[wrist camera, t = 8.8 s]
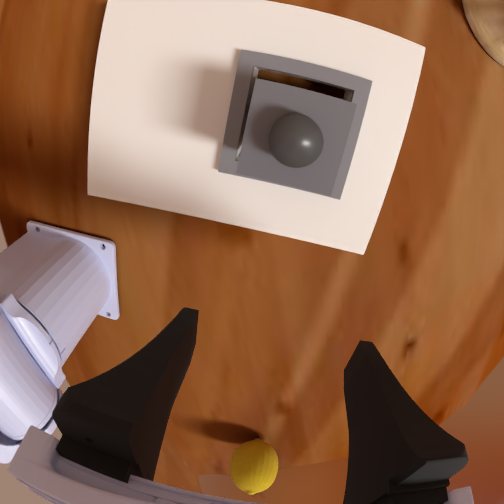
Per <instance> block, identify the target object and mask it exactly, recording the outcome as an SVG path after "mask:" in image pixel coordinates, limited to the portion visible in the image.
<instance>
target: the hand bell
mask: <svg viewBox="0 0 504 504" xmlns="http://www.w3.org/2000/svg"><path fill="white" fill-rule="evenodd" d="M462 3H463V8H464V12H465V16H466V18H467V21H468V23H469V25H470V27H471V29H472V31H473V33H474V35H475V37H476V38H477V40H478V41H479V43H480V44H481V46H482V47H483V48H484V49H485V51H486V52H487V53H488V54H489V55H490V56H491V57H492V58H493V59H494V60H495V61H496V62H498V63H499V64H500V65H502V66H503V67H504V0H462Z"/></svg>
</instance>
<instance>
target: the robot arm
mask: <svg viewBox="0 0 504 504" xmlns="http://www.w3.org/2000/svg"><path fill="white" fill-rule="evenodd" d="M38 227H39V228H38ZM39 229H40V230H39ZM102 244H104V245H105V247H104V246H103V245H102ZM108 312H109V313H108ZM198 312H199V310H194V309H190V308H186V307H185V308H183V309H182V310H181V311H180V312H179V313H178V315H177V316H176V317H175V318H174V319H173V320H172V321H171V322H170V323H169V324H168V325H167V326H166V327H165V328H164V329H163V330H162V331H161V332H160V333H159V334H158V335H157V336H156V337H155V338H154V339H153V340H152V341H150V342H149V343H148V344H147V345H146V346H144V347H143V348H142V349H141V350H139V351H138V352H137V353H136V354H134V355H133V356H131V357H130V358H128V359H127V360H125V361H124V362H122V363H121V364H119V365H117V366H116V367H114V368H112V369H111V370H109V371H107V372H105V373H103V374H101V375H99V376H96V377H94V378H92V379H90V380H88V381H85V382H82V383H80V384H77V385H74V386H71V387H68V389H67V390H66V391H65V393H64V394H63V393H62V391H61V390H60V388H59V387H60V386H61V384H62V382H63V381H64V379H65V375H64V374H63V372H62V369H61V367H62V366H63V364H64V363H65V361H66V360H67V358H68V357H69V355H70V354H71V352H72V351H73V349H74V348H75V346H76V345H77V343H78V342H79V340H80V339H81V337H82V336H83V334H84V333H85V332H86V330H87V329H88V327H89V326H90V324H91V323H92V322H93V320H94V319H95V317H96V316H97V314H98V315H101V316H104V317H107V318H110V319H114V320H117V319H118V318H119V303H118V289H117V272H116V247H115V244H114V243H113V242H112V241H110V240H106V239H102V238H98V237H94V236H90V235H86V234H82V233H78V232H74V231H70V230H66V229H62V228H58V227H54V226H51V225H47V224H43V223H39V222H35V221H29V222H28V223H27V233H26V234H24V235H23V236H22V237H20V238H19V239H18V240H17V241H15V242H14V243H13V244H11V245H10V246H9V247H8V248H6V249H5V250H4V251H3V252H1V253H0V463H9V462H10V461H11V460H12V461H11V463H10V465H9V467H8V468H7V470H8V472H9V473H10V474H11V475H13V476H14V477H15V478H16V479H17V480H18V481H20V482H21V483H22V484H23V485H25V486H26V487H27V488H28V489H29V490H31V491H32V492H34V493H36V494H37V495H39V496H41V497H43V498H44V499H46V500H48V501H50V502H52V503H54V504H263V503H254V502H246V501H240V500H233V499H227V498H221V497H216V496H210V495H206V494H201V493H196V492H192V491H187V490H183V489H179V488H175V487H171V486H168V485H164V484H160V483H157V482H153V479H154V474H155V470H156V465H157V461H158V457H159V453H160V449H161V445H162V441H163V437H164V434H165V430H166V426H167V423H168V419H169V416H170V412H171V409H172V406H173V403H174V401H175V398H176V396H177V394H178V391H179V389H180V386H181V384H182V382H183V379H184V377H185V374H186V372H187V369H188V367H189V365H190V362H191V358H192V355H193V351H194V348H195V344H196V334H197V323H198ZM344 394H345V403H346V411H347V420H348V429H349V458H348V473H347V482H346V489H345V496H344V501H343V504H474V501H473V496H472V491H471V487H470V486H468V487H463V488H459V489H454V490H451V491H449V492H447V489H446V487H447V486H449V484H450V483H449V478H450V477H452V476H453V475H454V474H456V473H457V472H458V471H460V470H461V469H462V468H463V467H465V465H466V464H467V462H468V456H467V452H466V448H465V445H464V444H463V443H462V442H460V441H459V440H457V439H456V438H454V437H453V436H451V435H450V434H448V433H447V432H446V431H444V430H443V429H442V428H441V427H439V426H438V425H437V424H436V423H435V422H434V421H433V420H431V419H430V418H429V417H428V416H427V415H426V414H425V413H424V412H423V411H422V410H421V409H420V408H419V407H418V405H417V404H416V403H415V402H414V401H413V400H412V399H411V397H410V396H409V395H408V394H407V392H406V391H405V390H404V388H403V387H402V386H401V384H400V383H399V382H398V380H397V379H396V377H395V376H394V375H393V373H392V372H391V370H390V369H389V367H388V365H387V364H386V362H385V361H384V359H383V358H382V356H381V355H380V353H379V352H378V350H377V348H376V347H375V345H374V344H373V343H372V342H367V341H360V342H359V344H358V345H357V347H356V349H355V351H354V353H353V355H352V357H351V359H350V360H349V362H348V364H347V366H346V368H345V369H344ZM57 426H58V428H59V430H60V431H61V433H62V438H61V439H60V441H59V440H58V439H56V438H55V437H54V436H52V435H51V434H52V433H53V432H54V430H55V429H56V427H57Z"/></svg>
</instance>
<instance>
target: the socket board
mask: <svg viewBox="0 0 504 504" xmlns="http://www.w3.org/2000/svg"><path fill="white" fill-rule="evenodd" d="M424 53H425V47H423V46H421V45H418V44H416V43H414V42H411V41H409V40H407V39H404V38H402V37H399V36H396V35H394V34H391V33H389V32H386V31H383V30H380V29H377V28H375V27H372V26H369V25H366V24H363V23H359V22H356V21H353V20H350V19H346V18H343V17H339V16H336V15H332V14H328V13H324V12H320V11H316V10H312V9H307V8H303V7H298V6H293V5H288V4H283V3H277V2H271V1H265V0H108V2H107V6H106V11H105V16H104V20H103V25H102V30H101V36H100V41H99V47H98V53H97V60H96V67H95V74H94V82H93V91H92V100H91V112H90V125H89V142H88V195H91V196H97V197H102V198H107V199H112V200H117V201H122V202H127V203H132V204H137V205H142V206H147V207H152V208H157V209H161V210H166V211H171V212H176V213H181V214H185V215H190V216H195V217H199V218H204V219H209V220H213V221H218V222H223V223H227V224H232V225H236V226H241V227H246V228H250V229H255V230H259V231H264V232H268V233H272V234H277V235H281V236H286V237H290V238H294V239H299V240H303V241H307V242H312V243H316V244H320V245H325V246H329V247H333V248H337V249H342V250H346V251H350V252H354V253H358V254H362V255H364V252H365V250H366V247H367V245H368V242H369V239H370V237H371V234H372V231H373V229H374V226H375V223H376V221H377V218H378V215H379V212H380V209H381V207H382V204H383V201H384V198H385V195H386V192H387V189H388V186H389V183H390V180H391V177H392V174H393V171H394V168H395V165H396V161H397V158H398V155H399V152H400V148H401V145H402V141H403V138H404V134H405V131H406V127H407V124H408V120H409V116H410V113H411V109H412V105H413V101H414V97H415V93H416V89H417V85H418V81H419V76H420V72H421V67H422V63H423V58H424ZM259 70H263V71H268V72H273V73H278V74H283V75H288V76H292V77H297V78H301V79H305V80H309V81H313V82H317V83H321V84H325V85H329V86H332V87H336V88H339V89H343V90H345V93H344V97H343V100H346V101H349V102H352V103H355V104H357V106H356V110H355V114H354V118H353V121H352V125H351V129H350V132H349V136H348V139H347V143H346V146H345V150H344V153H343V157H342V160H341V164H340V167H339V171H338V174H337V177H336V181H335V184H334V187H333V190H332V194H331V196H328V195H324V194H320V193H316V192H312V191H309V190H305V189H301V188H297V187H293V186H289V185H285V184H280V183H276V182H272V181H268V180H263V179H259V178H255V177H250V176H246V175H241V174H237V173H236V171H237V166H238V161H239V156H240V151H241V146H242V141H243V136H244V131H245V127H246V122H247V117H248V112H249V108H250V103H251V98H252V94H253V89H254V85H255V80H256V78H257V76H258V71H259Z"/></svg>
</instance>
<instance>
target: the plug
mask: <svg viewBox="0 0 504 504" xmlns="http://www.w3.org/2000/svg"><path fill="white" fill-rule="evenodd" d="M356 106H357V104H355V103H352V102H349V101H346V100H342V99H339V98H336V97H332V96H329V95H325V94H322V93H318V92H314V91H310V90H306V89H303V88H298V87H294V86H290V85H286V84H281V83H277V82H272V81H267V80H263V79H257V78H256V80H255V85H254V89H253V94H252V98H251V103H250V108H249V112H248V117H247V122H246V127H245V131H244V136H243V141H242V146H241V151H240V156H239V161H238V166H237V171H236V173H237V174H241V175H246V176H250V177H255V178H259V179H263V180H268V181H272V182H276V183H280V184H285V185H289V186H293V187H297V188H301V189H305V190H309V191H312V192H316V193H320V194H324V195H328V196H331V194H332V190H333V187H334V184H335V181H336V177H337V174H338V171H339V167H340V164H341V160H342V157H343V153H344V150H345V146H346V143H347V139H348V136H349V132H350V129H351V125H352V121H353V118H354V114H355V110H356Z"/></svg>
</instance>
